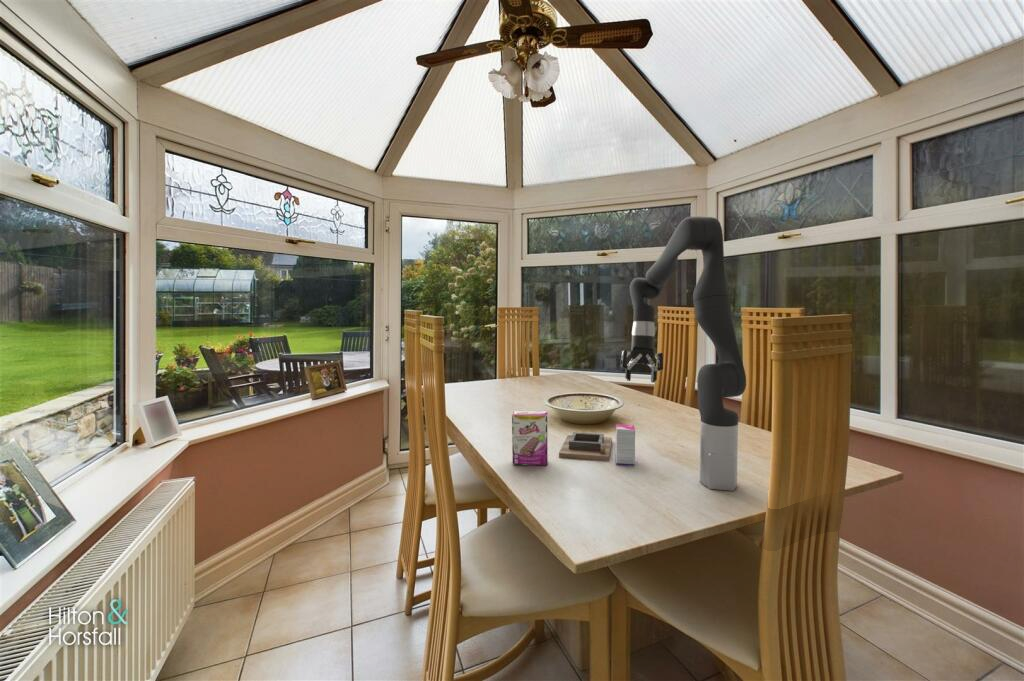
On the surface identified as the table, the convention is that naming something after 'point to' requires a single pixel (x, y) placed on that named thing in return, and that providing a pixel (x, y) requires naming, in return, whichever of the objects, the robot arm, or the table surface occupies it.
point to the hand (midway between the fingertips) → (640, 381)
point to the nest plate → (586, 446)
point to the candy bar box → (530, 437)
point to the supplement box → (625, 445)
